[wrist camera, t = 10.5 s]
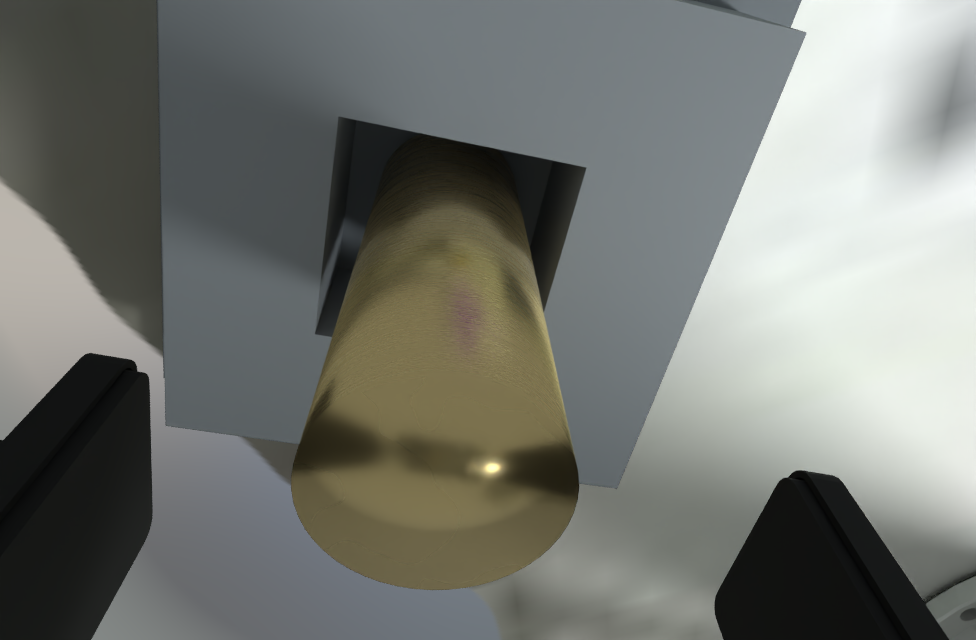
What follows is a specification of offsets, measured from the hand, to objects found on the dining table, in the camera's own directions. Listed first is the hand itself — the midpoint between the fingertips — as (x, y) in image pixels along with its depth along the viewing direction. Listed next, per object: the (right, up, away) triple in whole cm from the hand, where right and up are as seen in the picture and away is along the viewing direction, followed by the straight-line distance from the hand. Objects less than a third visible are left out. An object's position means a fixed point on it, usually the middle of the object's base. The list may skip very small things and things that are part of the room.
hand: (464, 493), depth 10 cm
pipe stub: (-1, +6, +10) cm, 12 cm away
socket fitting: (-1, +7, +11) cm, 13 cm away
